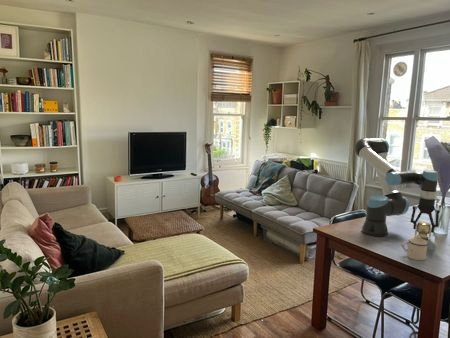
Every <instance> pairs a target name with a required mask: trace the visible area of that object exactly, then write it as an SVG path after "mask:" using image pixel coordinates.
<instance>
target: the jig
mask: <svg viewBox="0 0 450 338" xmlns="http://www.w3.org/2000/svg"><path fill="white" fill-rule="evenodd" d="M418 234H419V232H417V235H415V232H410V237H409V239H410V238H415V237H417V236H418ZM423 240H424V239H423ZM435 240H436V237H435V236H434V235H431V238H429V234H427V240H425V241H427V242H428V245H427V251H432V252H434V247H435Z"/></svg>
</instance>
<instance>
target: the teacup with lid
mask: <svg viewBox="0 0 450 338" xmlns="http://www.w3.org/2000/svg"><path fill="white" fill-rule="evenodd" d="M405 244H406V245H408V246H407V249H406V248H405V247H404V245H405ZM427 245H428V242H427V241H425V240H423V239H422V238H421V237H420V236H417V237H415V238H410V237H409V238H408V241H403V242H402V243H401V248H402V250H404V251H405V252H407V257H408V258H410V259H412V260H414V261H424V260H426V259H427V252H428V250H427Z"/></svg>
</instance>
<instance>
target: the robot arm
mask: <svg viewBox="0 0 450 338" xmlns="http://www.w3.org/2000/svg"><path fill="white" fill-rule="evenodd" d="M353 149H354V153H355V154H356V155H357V156H358V157H359V158H360V159H361V160H364V161H366V162H367V163H369V165H370V166H372V167H373V168H374V169H375V172H376V175H377V178H378V181H379V184H380V188H381V190H382V193H383V194H382V195H381V194H380V195H379V194H375V195H371V196H369V197H368V198H367V201H366V211H365V212H366V213H365V214H366V215H365V220H364V223H363V225H362V227H361V232H362V233H363V234H365V235H368V236H371V237H380V238H381V237H387V236H388V233H389V229H388V226H387V217H392V216H402V215H406V213H408V211H409V208H410V201H409V199H408V198H407V197H406V196H403V194H402V192H401V191H399V190H398V188H397V186H400V185H401V186H402V185H418V186H420V193H419V200H418V205H415V204H414V205H413V206H412V213H411V217H410V223H412V224H413V225H412V226H413V227H412V229H413V230H414V233H415V235H417V233H418V232H417V225H418V222H419V219H420V218H421V216H422V214H425V215H428V217H429V221H430V222H429V223H430V224H431V226H430V232H429V234H428V235H429V238H431V236H432V234H433V233H434V232H435V228H438V227H439V225H440V224H439V220H440V219H439V218H440V217H439V216H440V212H441V209H439V208H436V207H435V203H436V197H437V196H436V195H437V186H438V181H439V173H438V171H436V170H430V169H427V170H426V169H424V170H423V172H421V171H417V170H415V169H408V170H405V171H400V170H398V169H397V168H396V167H395V166H393V165H392V164H391V163H389V162H388V159H387V157H388V155H389V154H388V153H389V151H390V144H389V142H388V140H386V139H384V138H382V137H372V138H371V137H370V138H368V137H366V138H365V137H364V138H359V139H358V140H357V141H356V143H355V144H354V147H353ZM417 210H419V213H418V215H417V217H416V218H415V215H416V211H417ZM433 212H435V221H434V218H433V217H434V216H433V214H432V213H433Z"/></svg>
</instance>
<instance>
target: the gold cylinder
mask: <svg viewBox="0 0 450 338" xmlns="http://www.w3.org/2000/svg"><path fill="white" fill-rule="evenodd" d="M417 224H418V225H417V233H419V234H418V236H420V237H421V238H422V239H424V240H427V235H429V232H430V226H431V223H430V222H429V223H428V222H425V221H417Z"/></svg>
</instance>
